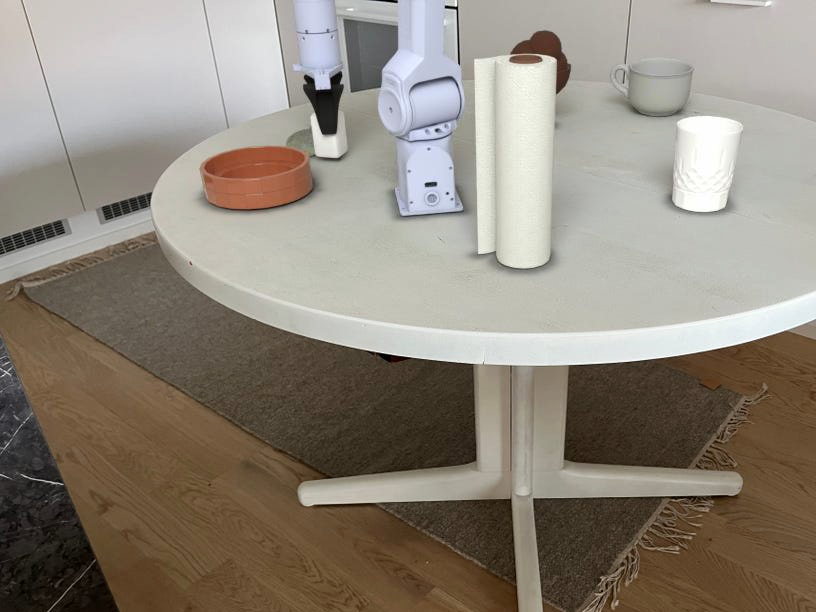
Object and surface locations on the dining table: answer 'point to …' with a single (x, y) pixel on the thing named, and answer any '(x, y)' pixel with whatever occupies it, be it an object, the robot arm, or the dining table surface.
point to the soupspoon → (302, 141)
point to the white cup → (705, 162)
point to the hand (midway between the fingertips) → (329, 128)
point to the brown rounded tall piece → (547, 53)
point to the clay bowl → (256, 177)
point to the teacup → (656, 84)
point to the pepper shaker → (329, 139)
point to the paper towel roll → (515, 156)
